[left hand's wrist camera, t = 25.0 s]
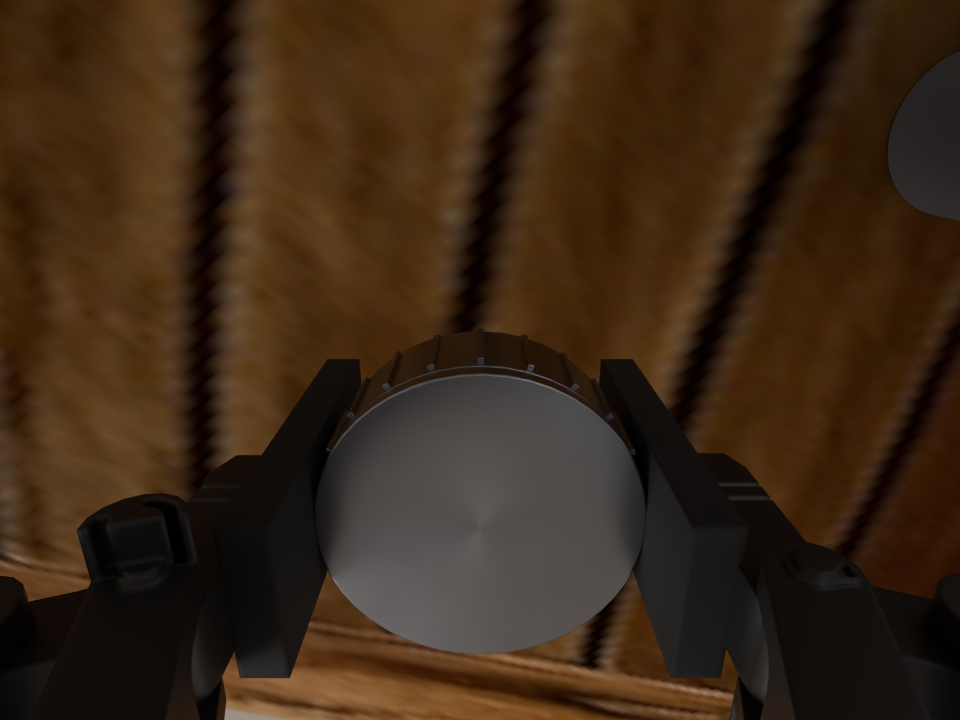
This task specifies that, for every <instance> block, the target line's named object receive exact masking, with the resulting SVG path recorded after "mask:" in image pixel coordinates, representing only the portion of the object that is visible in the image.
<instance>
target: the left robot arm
mask: <svg viewBox="0 0 960 720" xmlns="http://www.w3.org/2000/svg"><path fill="white" fill-rule="evenodd" d="M599 386H600V388H601V390H602V393H603V395H604V397H605V399H606V401H607V403H608V405H609V407H610V409H611V411H612V412H613V411H616V413H617V415H618V417H619V419H620V421H621V423H622V425H623V427H624V429H625V431H626V433H627V435H628V437H629V439H630V441H631V443H632V445H633V447H634V450H635V452H636V455H634V456H633V458H634V461H635V463H636V465H637V468H638V470H639V472H640V475H641V479H642V482H643V486H644V490H645V497H646V507H647V512H646V522H645V531H644V538H643V544H642V548H641V551H640V554H639V556H638V559H637V562H636V564H635V566H634V568H633V573H634V575H635V578H636V581H637V584H638V587H639V590H640V592H641V595H642V598H643V601H644V604H645V607H646V609H647V612H648V615H649V618H650V621H651V624H652V627H653V629H654V632H655V635H656V638H657V641H658V644H659V646H660V649H661V652H662V655H663V658H664V661H665V663H666V666H667V669H668V672H669V675H670V678H721V673H722V667H723V662H724V657H725V652H726V649H727V651H728V653H729V655H730V657H731V659H732V661H733V663H734V666H735V668H736V670H737V672H738V679H737V684H736V688H735V693H734V698H733V703H732V708H731V713H730V718H729V720H960V574H951V575H947V576H946V577H944V578H943V579H941V580H940V581H939V582H938V584H937V587H936V590H935V593H934V596H933V599H928V598H924V597H919V596H914V595H910V594H905V593H900V592H895V591H891V590H886V589H882V588H878V587H875V586H871V584H870V582H869V580H868V579H867V577H866V576H865V575H864V573H863V572H862V571H861V569H860V568H859V567H858V566H856V565H855V564H854V563H852V562H851V561H850V560H848V559H847V558H846V557H844V556H843V555H840V554H838V553H836V552H834V551H832V550H830V549H828V548H826V547H823V546H819V545H815V544H812V543H808V542H806V541H805V540H804V539H803V538H802V536H801V535H800V534H799V533H798V531H797V530H796V529H795V528H794V527H793V525H792V524H791V523H790V522H789V520H788V519H787V518H786V517H785V515H784V514H783V513H782V512H781V510H780V509H779V508H778V507H777V505H776V504H775V503H774V502H773V500H770V497H769V496H768V494H767V493H766V492H765V491H764V489H763V488H762V487H759V483H758V482H757V481H756V479H755V478H754V477H753V476H752V474H751V473H750V472H749V471H748V470H747V468H746V467H744V466H743V465H741V464H740V463H738V462H737V461H735V460H733V459H732V458H730V457H729V456H727V455H726V454H724V453H697V452H696V450H695V449H694V447H693V446H692V445H691V443H690V442H689V440H688V439H687V437H686V436H685V434H684V433H683V431H682V430H681V429H680V427H679V426H678V424H677V423H676V421H675V420H674V418H673V417H672V416H671V414H670V413H669V411H668V410H667V408H666V407H665V405H664V404H663V402H662V401H661V400H660V398H659V397H658V395H657V394H656V392H655V391H654V389H653V388H652V387H651V385H650V384H649V382H648V381H647V379H646V378H645V376H644V375H643V373H642V372H641V371H640V369H639V368H638V366H637V365H636V363H635V362H634V360H633V359H601V367H600V380H599ZM360 388H361V375H360V362H359V359H328V360H327V361H326V362H325V364H324V365H323V367H322V368H321V370H320V371H319V373H318V374H317V375H316V377H315V378H314V380H313V381H312V383H311V384H310V386H309V387H308V389H307V390H306V391H305V393H304V394H303V396H302V397H301V399H300V400H299V402H298V403H297V404H296V406H295V407H294V409H293V410H292V412H291V413H290V415H289V416H288V418H287V419H286V420H285V422H284V423H283V425H282V426H281V428H280V429H279V431H278V432H277V433H276V435H275V436H274V438H273V439H272V441H271V442H270V444H269V445H268V447H267V448H266V449H265V451H264V452H263V454H262V455H237V456H235V457H233V458H232V459H230V460H229V461H227V462H226V463H224V464H222V465H221V466H219V467H218V468H216V469H215V470H214V471H213V472H212V474H211V475H210V476H209V477H208V479H207V480H206V481H205V482H204V484H203V485H202V489H199V490H198V491H197V492H196V494H195V495H194V496H193V497H192V499H191V502H188V504H187V503H186V502H185V501H183V500H182V499H181V498H180V497H178V496H174V495H169V494H164V493H159V494H143V495H139V496H135V497H131V498H126V499H123V500H120V501H118V502H115V503H113V504H111V505H108V506H106V507H103V508H102V509H100V510H99V511H97V512H96V513H94V514H93V515H91V516H90V517H88V518H87V519H86V520H85V521H84V522H83V523H82V524H81V526H80V527H79V528H78V529H77V534H78V537H79V541H80V544H81V548H82V551H83V555H84V558H85V562H86V565H87V569H88V572H89V575H90V579H91V583H90V585H89V588H88V589H84V590H81V591H77V592H72V593H68V594H63V595H58V596H54V597H49V598H44V599H39V600H35V601H30V602H29V601H28V598H27V595H26V592H25V589H24V586H23V584H22V583H21V582H19V581H18V580H16V579H15V578H14V577H5V576H0V720H224V716H225V708H226V695H225V689H224V684H223V679H222V676H223V674H224V671H225V669H226V667H227V665H228V663H229V661H230V659H231V657H232V655H233V653H234V651H235V655H236V660H237V665H238V671H239V676H240V678H290V676H291V673H292V670H293V667H294V664H295V662H296V659H297V656H298V653H299V650H300V647H301V645H302V642H303V639H304V636H305V633H306V630H307V628H308V625H309V622H310V619H311V616H312V613H313V611H314V608H315V605H316V602H317V599H318V596H319V593H320V591H321V588H322V585H323V582H324V579H325V576H326V574H327V571H328V569H327V567H326V565H325V563H324V561H323V558H322V555H321V552H320V550H319V547H318V543H317V535H316V527H315V518H314V500H315V493H316V487H317V483H318V480H319V477H320V474H321V470H322V468H323V466H324V464H325V462H326V459H327V457H328V455H327V454H325V450H326V448H327V446H328V444H329V442H330V440H331V438H332V436H333V434H334V432H335V430H336V428H337V426H338V424H339V422H340V420H341V418H342V416H343V414H344V412H345V410H348V411H350V408H351V406H352V404H353V402H354V400H355V398H356V396H357V394H358V392H359V390H360Z"/></svg>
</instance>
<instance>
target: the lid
mask: <svg viewBox="0 0 960 720" xmlns="http://www.w3.org/2000/svg"><path fill="white" fill-rule="evenodd" d="M325 454H327V455H328V457H327V459H326V462H325V464H324V466H323V468H322V470H321V474H320V477H319V480H318V483H317V487H316V493H315V500H314V518H315V527H316V535H317V543H318V547H319V550H320V552H321V555H322V558H323V561H324V563H325V565H326V567H327V569H328V571H329V573H330V575H331V577H332V578H333V580H334V581H335V583H336V584H337V586H338V587H339V589H340V590H341V591H342V593H343V594H344V595H345V596H346V597H347V598H348V599H349V600H350V601H351V603H352V604H353V605H354V606H355V607H356V608H358V609H359V610H360V611H361V612H362V613H363V614H365V615H366V616H367V617H368V618H369V619H371V620H372V621H374V622H375V623H377V624H378V625H380V626H381V627H383V628H384V629H386V630H388V631H390V632H392V633H394V634H396V635H398V636H400V637H402V638H404V639H407V640H409V641H412V642H414V643H417V644H420V645H423V646H427V647H431V648H434V649H438V650H444V651H450V652H456V653H468V654H494V653H504V652H511V651H518V650H522V649H526V648H530V647H534V646H537V645H540V644H543V643H546V642H549V641H551V640H554V639H556V638H558V637H560V636H563V635H565V634H567V633H569V632H571V631H573V630H574V629H576V628H577V627H579V626H581V625H582V624H584V623H585V622H587V621H588V620H590V619H591V618H592V617H593V616H595V615H596V614H597V613H598V612H599V611H601V610H602V609H603V608H604V607H605V606H606V605H607V604H608V603H609V602H610V601H611V600H612V599H613V598H614V597H615V596H616V594H617V593H618V592H619V590H620V589H621V588H622V586H623V585H624V584H625V582H626V581H627V579H628V577H629V575H630V574H631V572H632V570H633V568H634V566H635V564H636V562H637V559H638V556H639V554H640V551H641V548H642V544H643V538H644V531H645V522H646V512H647V507H646V497H645V490H644V486H643V482H642V479H641V475H640V472H639V470H638V468H637V465H636V463H635V461H634V458H633V456H634V455H636V452H635V450H634V447H633V445H632V443H631V441H630V439H629V437H628V435H627V433H626V431H625V429H624V427H623V425H622V423H621V421H620V419H619V417H618V415H617V413H616V411H613V412H612V411H611V409H610V407H609V405H608V403H607V401H606V399H605V397H604V395H603V393H602V390H601V388H600V386H599V384H598V382H597V381H596V379H595V378H593V379H592V380H591V379H590V378H589V377H588V376H587V375H586V374H585V373H584V372H583V371H582V370H581V369H580V368H579V367H577V366H576V365H575V364H574V363H573V362H572V361H570V360H569V359H568V357H567V354H566V353H564V352H561V354H560V353H558V352H557V351H555V350H553V349H550V348H548V347H546V346H544V345H542V344H540V343H538V342H535V341H532V340H529V339H528V337H527V336H526V335H522V336H521V337H519V336H514V335H509V334H505V333H495V332H484V329H478V332H462V333H457V334H451V335H445V336H441V337H440V335H439V334H438V335H434V338H433V339H431V340H428V341H425V342H423V343H421V344H418V345H416V346H414V347H412V348H410V349H407V350H406V351H404V352H403V353H400V351H398V352H396V353H395V354H394V357H393V359H391V360H390V361H389V362H388V363H387V364H385V365H384V366H383V367H382V368H381V369H379V370H378V371H377V372H376V373H375V374H374V375H373V376H372V378H371V379H369V378H368V377H366V379H365V380H364V381H363V383H362V386H361V388H360V390H359V392H358V394H357V396H356V398H355V400H354V402H353V404H352V406H351V408H350V411H348V410H345V412H344V414H343V416H342V418H341V420H340V422H339V424H338V426H337V428H336V430H335V432H334V434H333V436H332V438H331V440H330V442H329V444H328V446H327V448H326V450H325Z"/></svg>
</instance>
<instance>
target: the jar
mask: <svg viewBox="0 0 960 720" xmlns="http://www.w3.org/2000/svg"><path fill="white" fill-rule="evenodd" d="M888 166H889V171H890V175H891V178H892V180H893V183H894V185H895V187H896V189H897V190H898V192H899V193H900V195H901V196H902V197H903V198H904V199H905V200H906V201H907V202H908V203H909V204H911V205H912V206H913V207H914V208H916V209H918V210H920V211H922V212H925V213H928V214H931V215H935V216H940V217H945V218H950V219H955V220H960V50H959V51H957V52H955V53H953V54H951V55H949V56H948V57H946V58H945V59H943V60H942V61H940V62H939V63H938V64H936V65H935V66H934V67H933V68H932V69H930V70H929V71H928V72H927V73H926V74H925V75H924V76H923V77H922V78H921V79H920V80H919V81H918V82H917V83H916V84H915V86H914V87H913V88H912V89H911V91H910V92H909V93H908V95H907V96H906V98H905V100H904V101H903V103H902V105H901V107H900V108H899V110H898V112H897V114H896V117H895V120H894V122H893V125H892V128H891V132H890V136H889V142H888Z"/></svg>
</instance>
